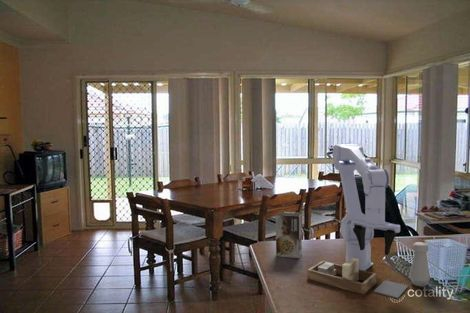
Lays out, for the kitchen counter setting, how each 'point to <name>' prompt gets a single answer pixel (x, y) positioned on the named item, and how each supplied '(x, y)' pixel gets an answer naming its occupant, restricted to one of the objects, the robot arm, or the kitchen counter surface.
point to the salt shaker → (420, 265)
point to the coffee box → (288, 234)
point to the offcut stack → (327, 268)
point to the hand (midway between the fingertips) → (374, 251)
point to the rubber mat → (391, 289)
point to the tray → (339, 282)
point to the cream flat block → (351, 270)
